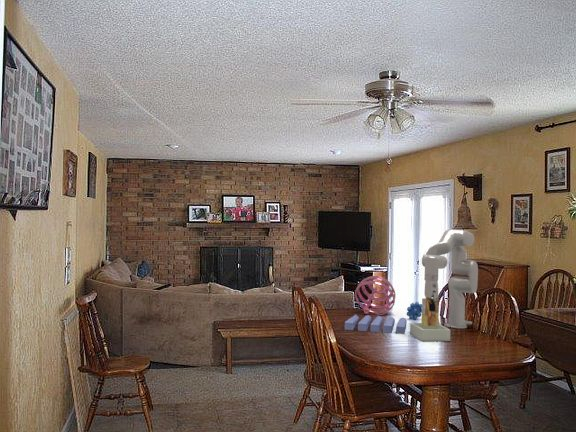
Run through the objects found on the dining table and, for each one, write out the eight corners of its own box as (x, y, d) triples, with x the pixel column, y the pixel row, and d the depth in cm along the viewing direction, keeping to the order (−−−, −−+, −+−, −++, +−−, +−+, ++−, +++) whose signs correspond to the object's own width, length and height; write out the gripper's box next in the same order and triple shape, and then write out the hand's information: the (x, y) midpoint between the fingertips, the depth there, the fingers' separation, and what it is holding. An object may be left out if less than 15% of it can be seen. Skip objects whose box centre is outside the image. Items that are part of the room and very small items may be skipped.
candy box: (434, 324, 322) (435, 297, 322) (438, 326, 318) (439, 298, 318) (421, 325, 319) (421, 298, 319) (425, 326, 315) (425, 299, 315)
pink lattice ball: (381, 290, 371) (389, 265, 392) (344, 296, 386) (353, 271, 407) (397, 321, 382) (404, 295, 403) (360, 326, 396) (369, 301, 417)
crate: (436, 334, 329) (437, 323, 329) (450, 341, 309) (450, 329, 309) (410, 334, 328) (410, 322, 328) (421, 341, 308) (422, 329, 308)
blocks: (344, 330, 335) (344, 322, 335) (352, 320, 369) (352, 313, 369) (404, 335, 327) (404, 326, 327) (406, 325, 360) (407, 317, 360)
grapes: (420, 318, 383) (421, 300, 383) (424, 320, 376) (425, 302, 376) (404, 318, 381) (404, 300, 381) (407, 320, 374) (408, 302, 374)
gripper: (443, 279, 311) (442, 312, 310) (432, 276, 328) (431, 308, 327) (430, 279, 310) (429, 312, 310) (419, 276, 327) (418, 307, 327)
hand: (430, 309), depth 319 cm, fingers closed on candy box, 5 cm apart
